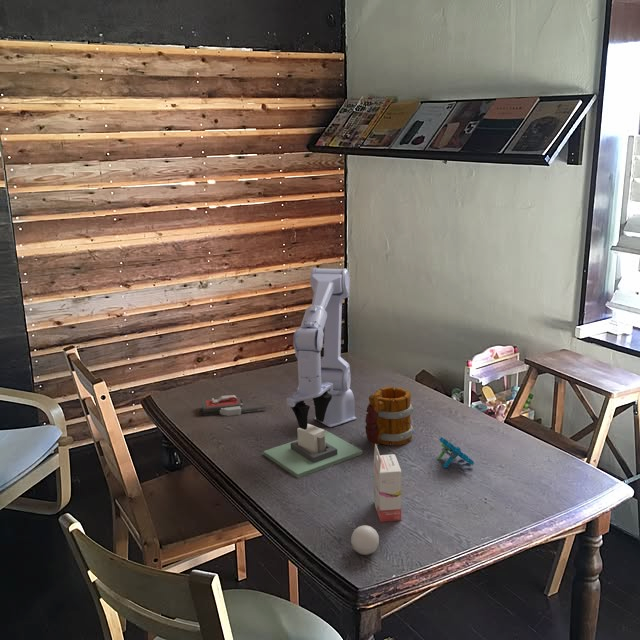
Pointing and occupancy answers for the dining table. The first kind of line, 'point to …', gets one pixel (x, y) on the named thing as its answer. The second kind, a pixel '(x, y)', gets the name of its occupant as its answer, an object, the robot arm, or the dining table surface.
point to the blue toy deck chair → (452, 453)
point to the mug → (389, 417)
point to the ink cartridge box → (387, 486)
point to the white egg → (365, 540)
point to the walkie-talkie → (225, 406)
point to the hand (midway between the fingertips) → (311, 424)
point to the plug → (312, 439)
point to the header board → (312, 455)
